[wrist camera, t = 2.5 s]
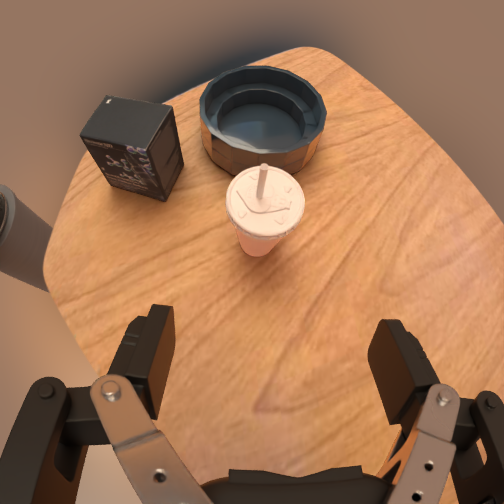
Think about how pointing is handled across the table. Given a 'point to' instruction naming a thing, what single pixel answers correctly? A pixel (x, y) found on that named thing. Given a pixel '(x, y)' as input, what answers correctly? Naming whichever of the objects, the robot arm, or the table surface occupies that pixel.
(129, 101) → the box
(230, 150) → the bowl
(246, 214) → the smoothie
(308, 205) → the table surface
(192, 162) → the table surface
